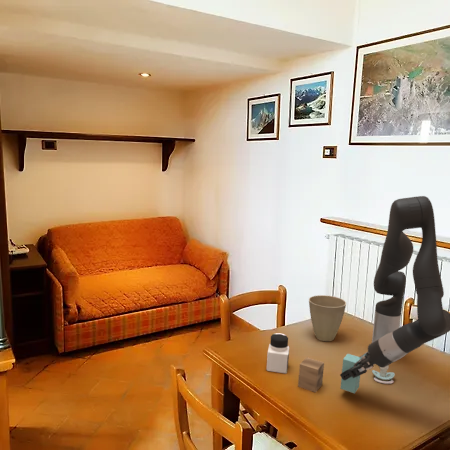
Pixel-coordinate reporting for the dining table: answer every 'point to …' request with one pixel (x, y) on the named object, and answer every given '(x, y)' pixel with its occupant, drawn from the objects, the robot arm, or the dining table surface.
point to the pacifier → (383, 375)
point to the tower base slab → (310, 383)
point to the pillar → (351, 382)
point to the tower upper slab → (311, 369)
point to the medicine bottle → (278, 353)
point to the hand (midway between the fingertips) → (344, 373)
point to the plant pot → (326, 315)
